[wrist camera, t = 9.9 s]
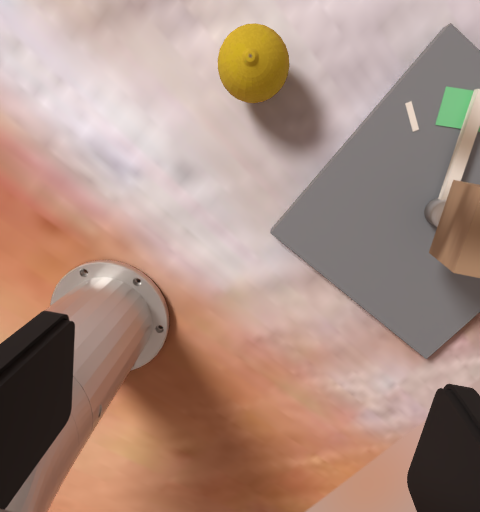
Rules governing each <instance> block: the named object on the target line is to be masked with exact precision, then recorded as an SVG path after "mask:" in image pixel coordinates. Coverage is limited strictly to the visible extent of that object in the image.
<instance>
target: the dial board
mask: <svg viewBox="0 0 480 512" xmlns="http://www.w3.org/2000/svg"><path fill="white" fill-rule="evenodd" d="M475 89H480V50H479V49H478V48H477V47H476V46H474V45H473V44H472V43H471V42H470V41H469V40H468V39H467V38H466V37H465V36H464V35H463V34H462V33H461V32H460V31H459V30H458V29H457V28H455V27H454V26H453V25H452V24H451V23H450V24H449V25H447V26H445V27H444V28H443V29H442V30H441V31H440V32H439V34H438V35H437V36H436V37H435V38H434V39H433V41H432V42H431V43H430V44H429V45H428V46H427V48H426V49H425V50H424V51H423V52H422V53H421V55H420V56H419V57H418V58H417V59H416V60H415V62H414V63H413V64H412V65H411V66H410V67H409V69H408V70H407V71H406V72H405V73H404V74H403V76H402V77H401V78H400V79H399V80H398V81H397V83H396V84H395V85H394V86H393V87H392V89H391V90H390V91H389V92H388V93H387V94H386V96H385V97H384V98H383V99H382V100H381V101H380V103H379V104H378V105H377V106H376V107H375V108H374V110H373V111H372V112H371V113H370V114H369V115H368V117H367V118H366V119H365V120H364V121H363V122H362V124H361V125H360V126H359V127H358V128H357V129H356V131H355V132H354V133H353V134H352V135H351V136H350V138H349V139H348V140H347V141H346V142H345V143H344V145H343V146H342V147H341V148H340V149H339V150H338V152H337V153H336V154H335V155H334V156H333V157H332V159H331V160H330V161H329V162H328V163H327V164H326V166H325V167H324V168H323V169H322V170H321V171H320V173H319V174H318V175H317V176H316V177H315V178H314V180H313V181H312V182H311V183H310V184H309V186H308V187H307V188H306V189H305V190H304V191H303V193H302V194H301V195H300V196H299V197H298V198H297V200H296V201H295V202H294V203H293V204H292V205H291V207H290V208H289V209H288V210H287V211H286V212H285V214H284V215H283V216H282V217H281V218H280V219H279V221H278V222H277V223H276V224H275V225H274V226H273V228H272V229H271V234H272V235H273V236H275V237H276V238H277V239H278V240H280V241H281V242H282V243H283V244H284V245H286V246H287V247H288V248H289V249H291V250H292V251H293V252H294V253H296V254H297V255H298V256H299V257H301V258H302V259H303V260H304V261H306V262H307V263H308V264H309V265H310V266H312V267H313V268H314V269H315V270H317V271H318V272H319V273H320V274H322V275H323V276H324V277H325V278H327V279H328V280H329V281H330V282H332V283H333V284H334V285H335V286H336V287H338V288H339V289H340V290H341V291H343V292H344V293H345V294H346V295H348V296H349V297H350V298H351V299H353V300H354V301H355V302H356V303H358V304H359V305H360V306H361V307H362V308H364V309H365V310H366V311H367V312H369V313H370V314H371V315H372V316H374V317H375V318H376V319H377V320H379V321H380V322H381V323H382V324H384V325H385V326H386V327H387V328H388V329H390V330H391V331H392V332H393V333H395V334H396V335H397V336H398V337H400V338H401V339H402V340H403V341H405V342H406V343H407V344H408V345H410V346H411V347H412V348H413V349H414V350H416V351H417V352H418V353H419V354H421V355H422V356H423V357H424V358H426V359H427V358H428V357H429V356H431V355H432V354H433V353H434V352H435V351H436V350H437V349H438V348H440V347H441V346H442V345H443V344H444V343H445V342H446V341H448V340H449V339H450V338H451V337H452V336H453V335H454V334H455V333H457V332H458V331H459V330H460V329H461V328H462V327H463V326H464V325H466V324H467V323H468V322H469V321H470V320H471V319H472V318H474V317H475V316H476V315H477V314H478V313H479V312H480V278H477V277H472V276H467V275H462V274H457V273H453V272H452V271H451V270H449V269H448V268H447V267H446V266H444V265H443V264H442V263H441V262H440V261H438V260H437V259H436V258H435V257H433V256H432V255H431V254H430V253H429V250H430V247H431V244H432V241H433V238H434V235H435V233H436V230H437V227H436V226H434V225H433V224H431V223H429V222H428V221H427V220H426V218H425V215H424V210H425V207H426V205H427V204H428V203H429V202H430V201H431V200H433V199H435V198H438V197H439V194H440V191H441V188H442V185H443V182H444V179H445V176H446V173H447V170H448V167H449V164H450V161H451V158H452V155H453V152H454V149H455V146H456V143H457V140H458V137H459V134H460V131H461V128H462V125H463V122H464V119H465V116H466V113H467V110H468V107H469V104H470V101H471V98H472V95H473V92H474V90H475ZM461 181H462V182H468V183H473V184H478V185H480V126H479V129H478V132H477V135H476V138H475V141H474V144H473V147H472V150H471V153H470V155H469V158H468V161H467V164H466V167H465V170H464V173H463V176H462V179H461Z"/></svg>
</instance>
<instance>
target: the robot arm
mask: <svg viewBox="0 0 480 512" xmlns="http://www.w3.org/2000/svg"><path fill="white" fill-rule="evenodd" d="M86 270H87V271H88V272H87V271H86ZM138 279H140V280H141V281H139V280H138ZM160 325H161V326H162V327H161V326H160ZM168 331H169V312H168V307H167V304H166V302H165V299H164V297H163V295H162V293H161V292H160V290H159V288H158V287H157V286H156V285H155V283H154V282H153V281H152V280H151V279H150V278H149V277H148V276H146V275H145V274H144V273H143V272H141V271H140V270H138V269H136V268H134V267H133V266H131V265H128V264H125V263H122V262H119V261H113V260H95V261H90V262H86V263H84V264H82V265H79V266H77V267H76V268H74V269H73V270H71V271H69V272H68V273H67V274H66V275H65V276H64V277H63V278H62V279H61V280H60V281H59V283H58V284H57V286H56V287H55V290H54V292H53V295H52V298H51V304H50V307H48V308H47V309H46V310H44V311H43V312H41V313H40V314H39V315H37V316H36V317H35V318H33V319H32V320H31V321H29V322H28V323H27V324H26V325H24V326H23V327H22V328H20V329H19V330H18V331H16V332H15V333H14V334H13V335H11V336H10V337H9V338H7V339H6V340H5V341H4V342H2V343H1V344H0V512H48V510H49V508H50V506H51V504H52V502H53V500H54V498H55V496H56V494H57V492H58V490H59V488H60V486H61V485H62V483H63V481H64V479H65V478H66V476H67V474H68V472H69V471H70V469H71V467H72V465H73V464H74V462H75V460H76V459H77V457H78V456H79V454H80V452H81V451H82V449H83V447H84V446H85V444H86V442H87V440H88V439H89V437H90V435H91V434H92V432H93V431H94V429H95V427H96V426H97V424H98V422H99V421H100V419H101V418H102V416H103V414H104V413H105V411H106V409H107V408H108V406H109V404H110V403H111V401H112V400H113V398H114V396H115V395H116V393H117V391H118V390H119V388H120V387H121V385H122V383H123V382H124V380H125V378H126V377H127V375H128V373H129V372H130V371H131V370H134V369H137V368H140V367H142V366H144V365H145V364H147V363H148V362H150V361H151V360H152V359H153V358H154V357H155V356H156V355H157V354H158V352H159V351H160V349H161V348H162V346H163V344H164V342H165V340H166V338H167V334H168ZM407 483H408V488H409V491H410V494H411V497H412V500H413V502H414V505H415V507H416V510H417V512H480V396H479V394H478V393H477V392H476V391H475V390H474V389H473V388H469V387H463V386H458V385H452V384H447V385H446V386H445V387H444V389H442V388H440V389H438V390H437V392H436V394H435V397H434V400H433V402H432V405H431V408H430V411H429V414H428V417H427V420H426V422H425V425H424V428H423V431H422V434H421V437H420V440H419V442H418V446H417V448H416V451H415V454H414V457H413V460H412V462H411V466H410V468H409V471H408V476H407Z"/></svg>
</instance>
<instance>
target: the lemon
mask: <svg viewBox="0 0 480 512" xmlns="http://www.w3.org/2000/svg"><path fill="white" fill-rule="evenodd" d="M288 70H289V55H288V52H287V48H286V45H285V44H284V42H283V40H282V39H281V37H280V36H279V35H278V34H277V33H276V32H275V31H274V30H272V29H270V28H269V27H267V26H265V25H260V24H246V25H243V26H240V27H238V28H237V29H235V30H234V31H232V32H231V33H230V34H229V35H228V36H227V38H226V39H225V40H224V42H223V44H222V46H221V48H220V52H219V56H218V71H219V75H220V79H221V81H222V83H223V85H224V87H225V88H226V89H227V90H228V92H229V93H230V94H231V95H233V96H234V97H235V98H237V99H239V100H241V101H244V102H248V103H258V102H263V101H265V100H267V99H270V98H272V97H273V96H274V95H275V94H276V93H278V92H279V90H280V89H281V87H282V86H283V85H284V83H285V80H286V78H287V75H288Z"/></svg>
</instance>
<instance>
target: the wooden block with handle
mask: <svg viewBox="0 0 480 512" xmlns="http://www.w3.org/2000/svg"><path fill="white" fill-rule="evenodd" d="M479 126H480V89H475V90H474V92H473V95H472V98H471V101H470V104H469V107H468V110H467V113H466V116H465V119H464V122H463V125H462V128H461V131H460V134H459V137H458V140H457V143H456V146H455V149H454V152H453V155H452V158H451V161H450V164H449V167H448V170H447V173H446V176H445V179H444V182H443V185H442V188H441V191H440V194H439V197H438V198H435V199H433V200H431V201H430V202H429V203H428V204H427V205H426V207H425V210H424V215H425V218H426V220H427V221H428V222H429V223H431V224H433V225H434V226H436V227H437V230H436V233H435V235H434V238H433V241H432V244H431V247H430V250H429V253H430V254H431V255H432V256H433V257H435V258H436V259H437V260H438V261H440V262H441V263H442V264H443V265H444V266H446V267H447V268H448V269H449V270H451V271H452V272H453V273H457V274H462V275H467V276H472V277H477V278H480V185H478V184H473V183H468V182H462V181H461V179H462V176H463V173H464V170H465V167H466V164H467V161H468V158H469V155H470V153H471V150H472V147H473V144H474V141H475V138H476V135H477V132H478V129H479Z"/></svg>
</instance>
